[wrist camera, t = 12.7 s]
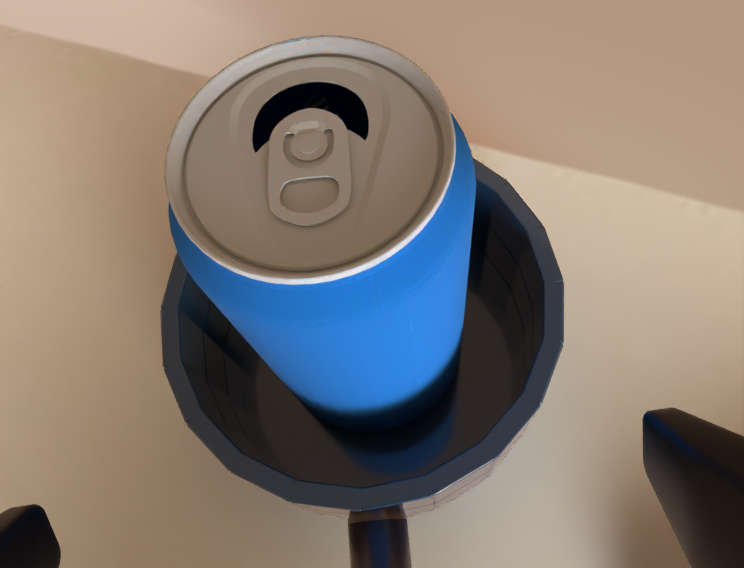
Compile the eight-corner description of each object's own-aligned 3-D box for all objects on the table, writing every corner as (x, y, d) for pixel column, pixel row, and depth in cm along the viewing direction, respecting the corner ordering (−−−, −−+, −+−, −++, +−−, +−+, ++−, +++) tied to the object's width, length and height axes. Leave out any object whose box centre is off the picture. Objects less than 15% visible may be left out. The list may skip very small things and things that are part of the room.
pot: (583, 268, 24) (616, 198, 19) (464, 588, 20) (471, 595, 15) (305, 171, 27) (278, 92, 22) (154, 430, 23) (82, 397, 18)
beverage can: (450, 259, 24) (458, 1, 13) (471, 428, 21) (504, 283, 10) (284, 275, 24) (156, 39, 13) (284, 443, 21) (124, 319, 11)
